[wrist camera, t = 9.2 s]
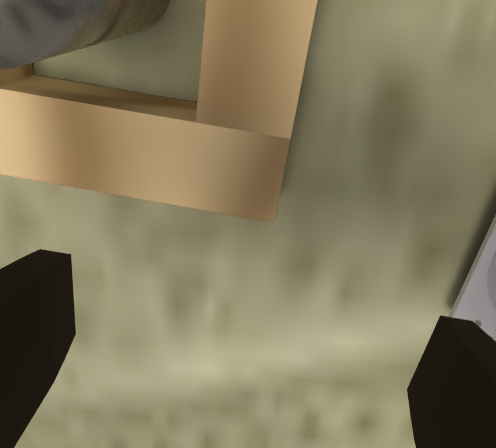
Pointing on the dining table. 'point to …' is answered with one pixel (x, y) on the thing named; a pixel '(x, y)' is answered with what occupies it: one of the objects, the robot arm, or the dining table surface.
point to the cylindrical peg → (68, 25)
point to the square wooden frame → (173, 120)
